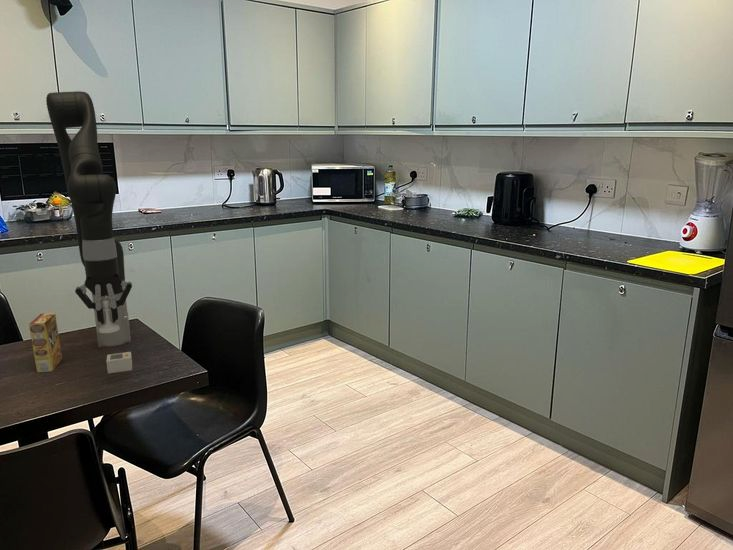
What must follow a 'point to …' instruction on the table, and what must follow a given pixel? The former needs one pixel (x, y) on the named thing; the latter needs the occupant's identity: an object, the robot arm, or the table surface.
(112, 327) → the chess piece
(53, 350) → the candy box
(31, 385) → the table surface
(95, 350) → the table surface
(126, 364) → the digital timer
